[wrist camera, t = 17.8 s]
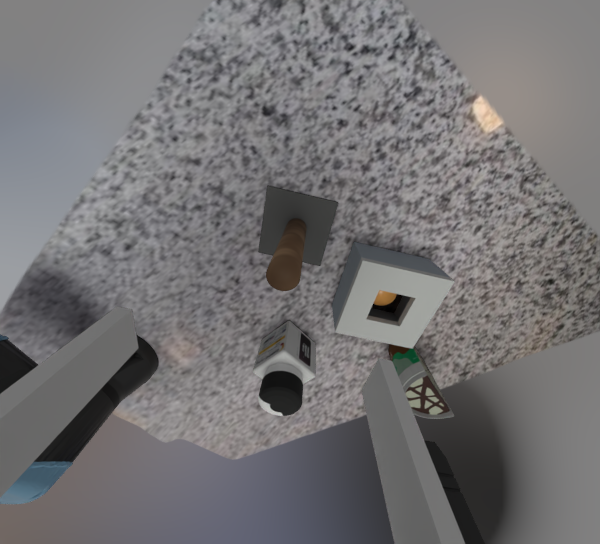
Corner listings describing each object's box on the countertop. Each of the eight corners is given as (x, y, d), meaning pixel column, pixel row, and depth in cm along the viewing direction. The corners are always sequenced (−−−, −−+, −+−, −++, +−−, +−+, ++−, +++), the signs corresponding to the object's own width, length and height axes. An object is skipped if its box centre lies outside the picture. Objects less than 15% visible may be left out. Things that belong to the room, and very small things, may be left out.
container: (289, 319, 41) (278, 381, 30) (316, 343, 43) (316, 410, 32) (261, 339, 44) (241, 403, 32) (288, 360, 46) (279, 428, 35)
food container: (370, 338, 42) (385, 387, 33) (401, 325, 40) (425, 372, 31) (398, 376, 46) (417, 428, 37) (427, 366, 44) (455, 418, 35)
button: (362, 292, 37) (365, 302, 34) (370, 271, 35) (375, 280, 32) (384, 297, 37) (390, 307, 34) (394, 276, 35) (401, 286, 33)
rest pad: (258, 251, 35) (258, 252, 35) (268, 185, 31) (267, 186, 30) (320, 264, 36) (320, 265, 35) (338, 202, 31) (338, 202, 31)
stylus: (284, 235, 33) (263, 286, 20) (288, 216, 32) (268, 257, 19) (304, 240, 33) (296, 293, 20) (308, 220, 32) (303, 265, 19)
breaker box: (332, 304, 39) (335, 332, 33) (354, 241, 33) (362, 260, 27) (397, 318, 39) (412, 348, 33) (429, 258, 34) (454, 281, 28)
